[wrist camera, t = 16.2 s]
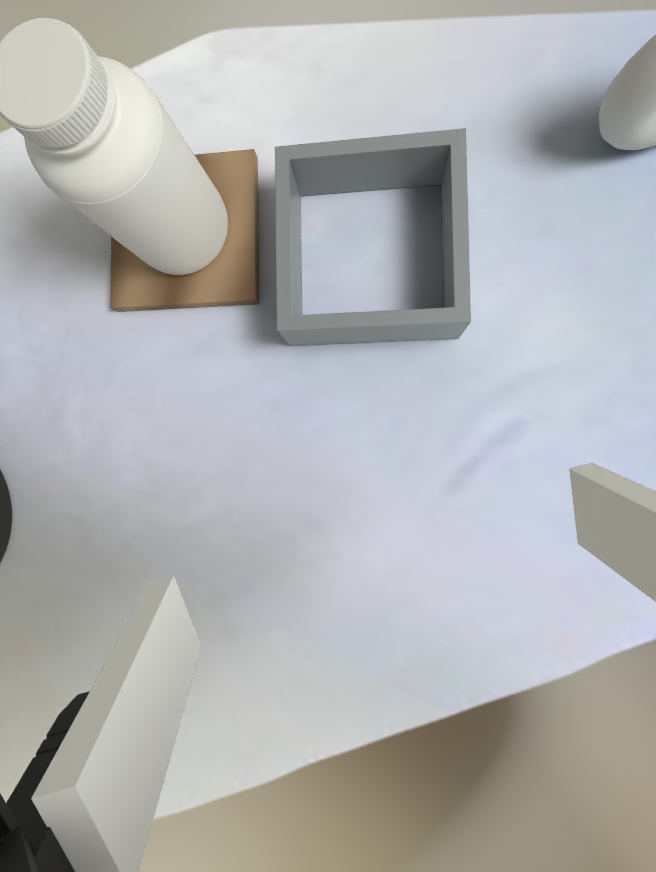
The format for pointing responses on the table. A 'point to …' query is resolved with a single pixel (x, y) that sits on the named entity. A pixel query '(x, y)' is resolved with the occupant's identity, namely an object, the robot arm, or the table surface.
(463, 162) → the sleeve
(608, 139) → the donut
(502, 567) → the table surface
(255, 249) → the pad
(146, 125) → the pill bottle
